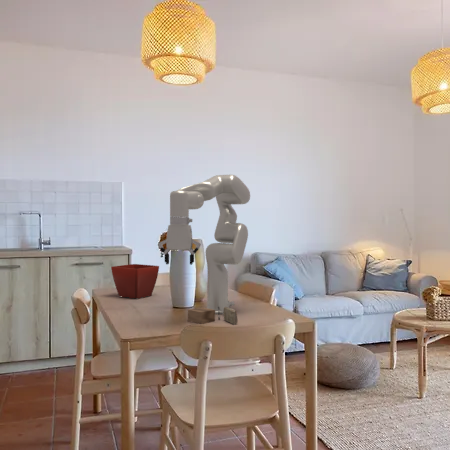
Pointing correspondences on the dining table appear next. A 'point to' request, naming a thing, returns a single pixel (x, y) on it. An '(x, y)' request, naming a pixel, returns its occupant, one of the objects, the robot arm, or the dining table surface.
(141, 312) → the dining table surface
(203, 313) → the tan box
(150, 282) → the plant pot
